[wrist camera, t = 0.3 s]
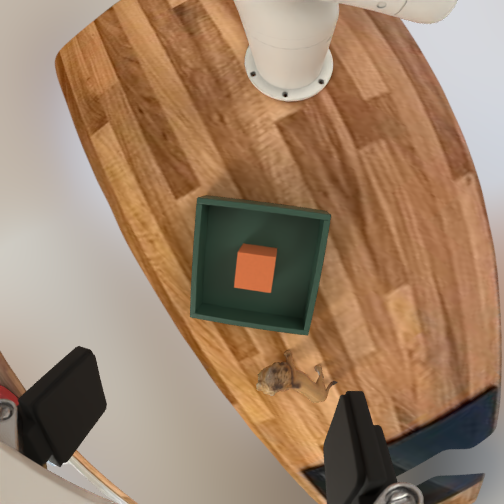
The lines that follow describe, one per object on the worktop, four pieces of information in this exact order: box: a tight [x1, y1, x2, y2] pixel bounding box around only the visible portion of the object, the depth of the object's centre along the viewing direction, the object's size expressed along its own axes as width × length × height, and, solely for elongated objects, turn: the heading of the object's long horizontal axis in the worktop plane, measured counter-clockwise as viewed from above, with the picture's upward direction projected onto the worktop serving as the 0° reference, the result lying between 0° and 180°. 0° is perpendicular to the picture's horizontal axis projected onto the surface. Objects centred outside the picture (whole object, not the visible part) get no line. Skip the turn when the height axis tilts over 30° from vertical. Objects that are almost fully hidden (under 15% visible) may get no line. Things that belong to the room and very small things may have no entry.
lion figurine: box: [256, 351, 337, 403], centre depth 44 cm, size 15×5×9 cm, turn 68°
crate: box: [190, 195, 331, 335], centre depth 43 cm, size 18×18×4 cm
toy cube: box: [234, 243, 277, 293], centre depth 42 cm, size 5×5×5 cm
